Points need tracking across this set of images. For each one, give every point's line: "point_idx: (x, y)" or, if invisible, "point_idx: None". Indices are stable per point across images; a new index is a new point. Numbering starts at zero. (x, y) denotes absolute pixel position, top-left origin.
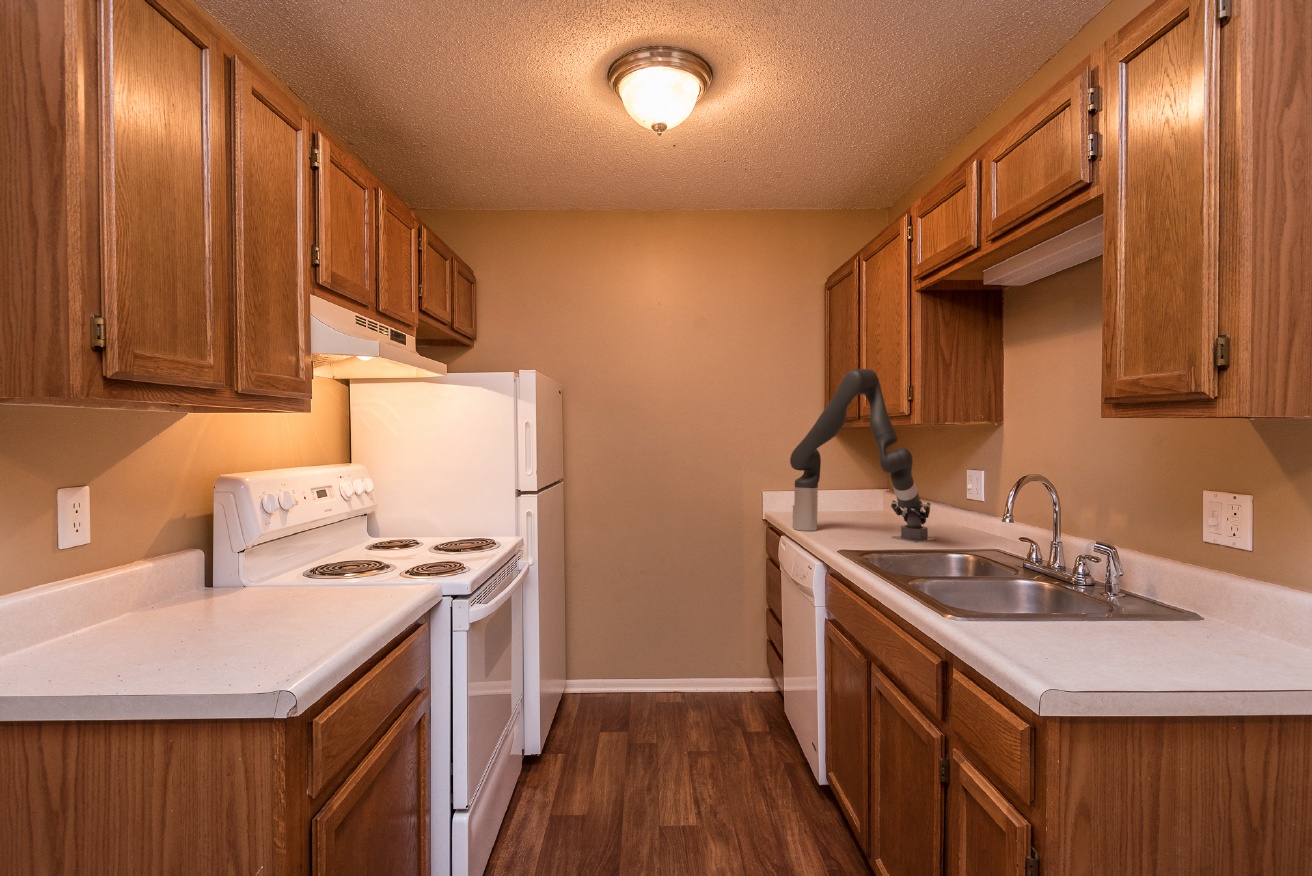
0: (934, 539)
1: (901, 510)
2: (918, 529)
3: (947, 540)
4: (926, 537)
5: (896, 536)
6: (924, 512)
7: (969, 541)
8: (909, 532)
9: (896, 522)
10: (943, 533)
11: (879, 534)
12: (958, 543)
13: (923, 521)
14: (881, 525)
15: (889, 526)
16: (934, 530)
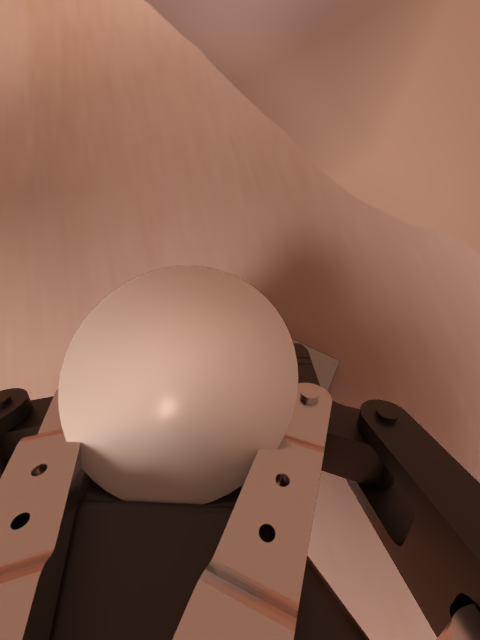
0: (332, 377)
1: (26, 433)
2: None
3: (369, 305)
4: None
5: None
6: (344, 443)
7: (456, 266)
8: None
9: (73, 22)
10: (284, 136)
11: (26, 345)
12: (451, 366)
13: None
14: (23, 103)
15: (56, 106)
16: (233, 94)
